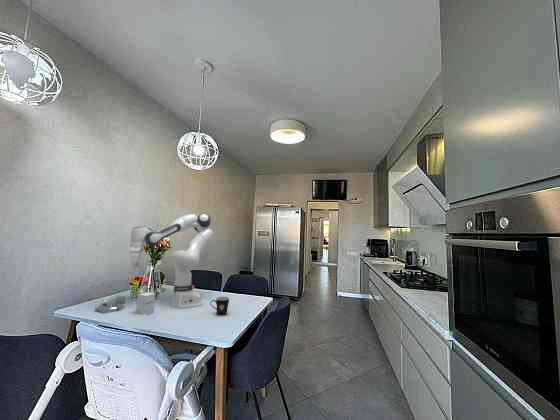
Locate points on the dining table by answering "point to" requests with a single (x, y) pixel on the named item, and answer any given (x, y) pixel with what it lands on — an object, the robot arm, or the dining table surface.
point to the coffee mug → (221, 305)
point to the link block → (120, 300)
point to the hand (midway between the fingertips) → (135, 268)
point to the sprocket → (109, 307)
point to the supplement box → (145, 303)
